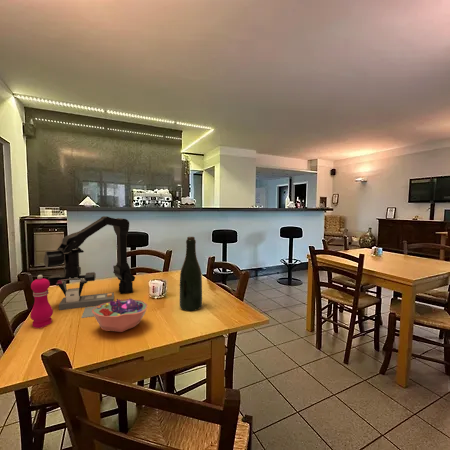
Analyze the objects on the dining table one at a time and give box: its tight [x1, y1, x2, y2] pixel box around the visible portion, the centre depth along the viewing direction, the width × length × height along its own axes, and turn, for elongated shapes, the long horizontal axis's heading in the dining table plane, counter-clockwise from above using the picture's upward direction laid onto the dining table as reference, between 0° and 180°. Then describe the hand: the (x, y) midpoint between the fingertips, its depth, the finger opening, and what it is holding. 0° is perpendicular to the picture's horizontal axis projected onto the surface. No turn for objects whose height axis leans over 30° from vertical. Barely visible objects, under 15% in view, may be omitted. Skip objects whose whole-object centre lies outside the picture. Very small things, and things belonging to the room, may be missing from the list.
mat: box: [81, 306, 97, 319], centre depth 115 cm, size 11×11×1 cm
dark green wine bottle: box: [179, 236, 203, 312], centre depth 120 cm, size 10×10×33 cm
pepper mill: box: [29, 274, 54, 329], centre depth 102 cm, size 7×7×20 cm
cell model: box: [92, 298, 148, 333], centre depth 100 cm, size 17×20×11 cm
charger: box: [66, 287, 81, 303], centre depth 121 cm, size 5×5×7 cm
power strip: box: [58, 292, 115, 311], centre depth 123 cm, size 22×9×4 cm, turn 111°
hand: (73, 296), depth 121 cm, fingers closed on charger, 5 cm apart
